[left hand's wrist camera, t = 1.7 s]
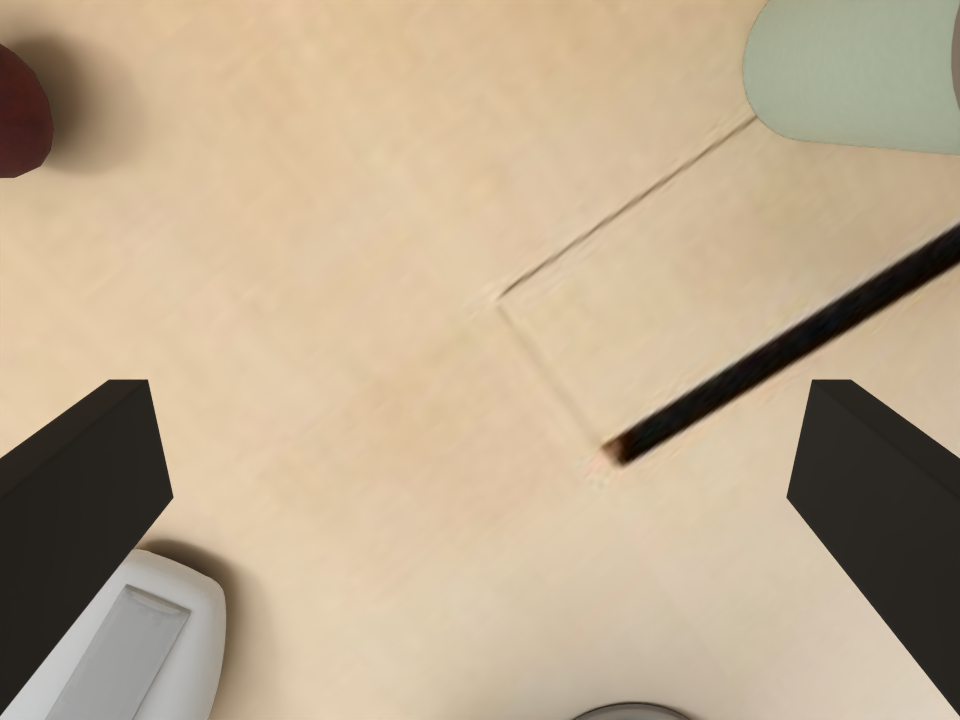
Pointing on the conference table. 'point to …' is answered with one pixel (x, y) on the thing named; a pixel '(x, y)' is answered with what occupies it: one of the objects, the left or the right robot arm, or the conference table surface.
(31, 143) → the dark maroon ball
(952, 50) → the lid
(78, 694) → the projector
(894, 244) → the conference table surface
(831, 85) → the jar
